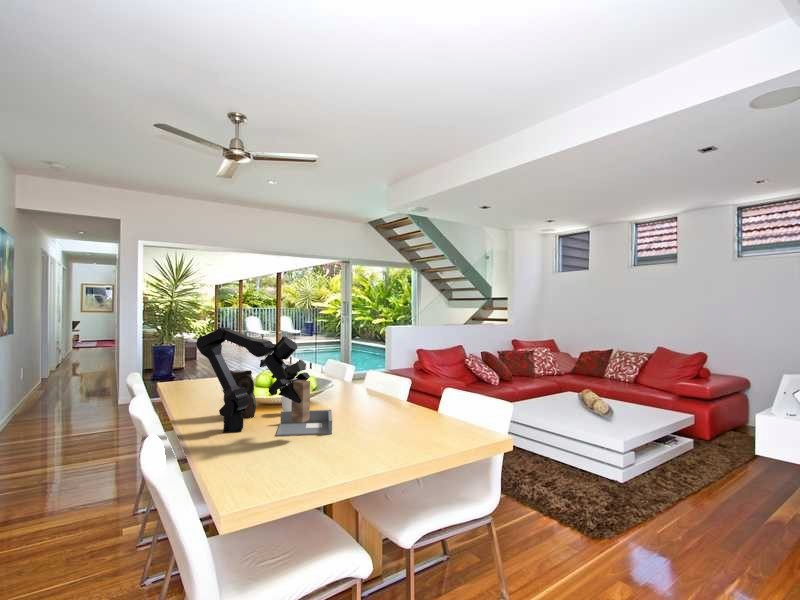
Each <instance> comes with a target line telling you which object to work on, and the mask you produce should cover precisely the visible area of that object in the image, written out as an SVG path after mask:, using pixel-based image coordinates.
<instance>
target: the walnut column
mask: <svg viewBox="0 0 800 600" xmlns="http://www.w3.org/2000/svg"><path fill="white" fill-rule="evenodd" d="M293 388H294V390H295V392H296V393H297V395H298V396H299V398H300V400H301V403H297V402H295V401H293V400H292V405H291V422H297V423H304V422H306V421H308V420H309V414H310V410H311V408H310V407H311V406H310V404H311V401H310V400H311V380H306V381H304V380H298V381H294V382H293Z"/></svg>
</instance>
